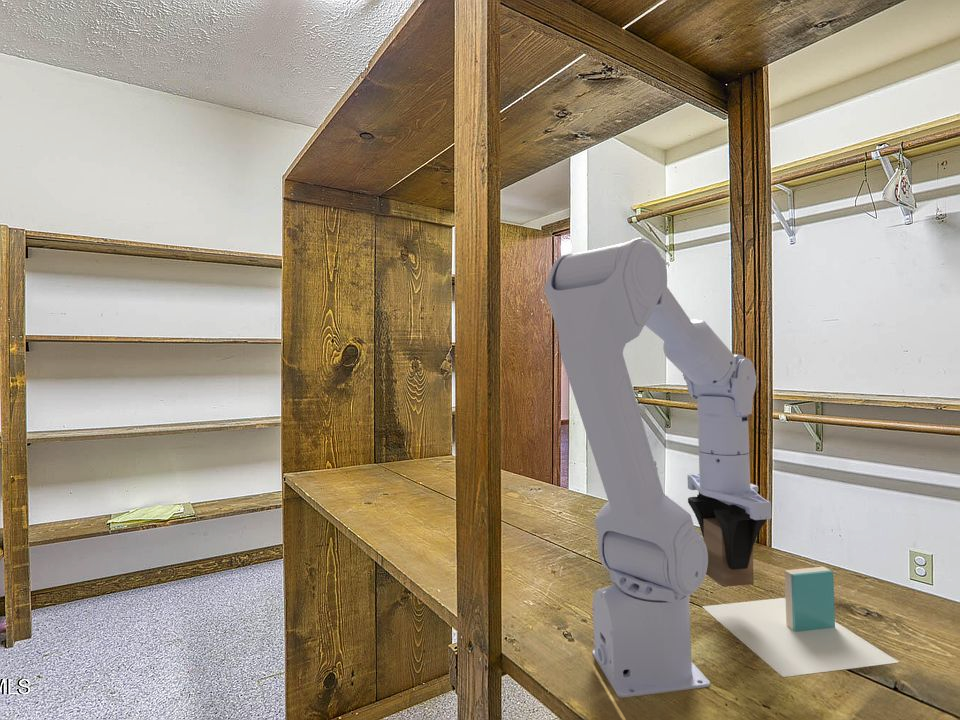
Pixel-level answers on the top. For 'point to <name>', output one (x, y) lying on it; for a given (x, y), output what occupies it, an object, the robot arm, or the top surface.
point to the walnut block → (723, 558)
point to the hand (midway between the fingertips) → (727, 560)
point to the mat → (795, 640)
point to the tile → (809, 599)
